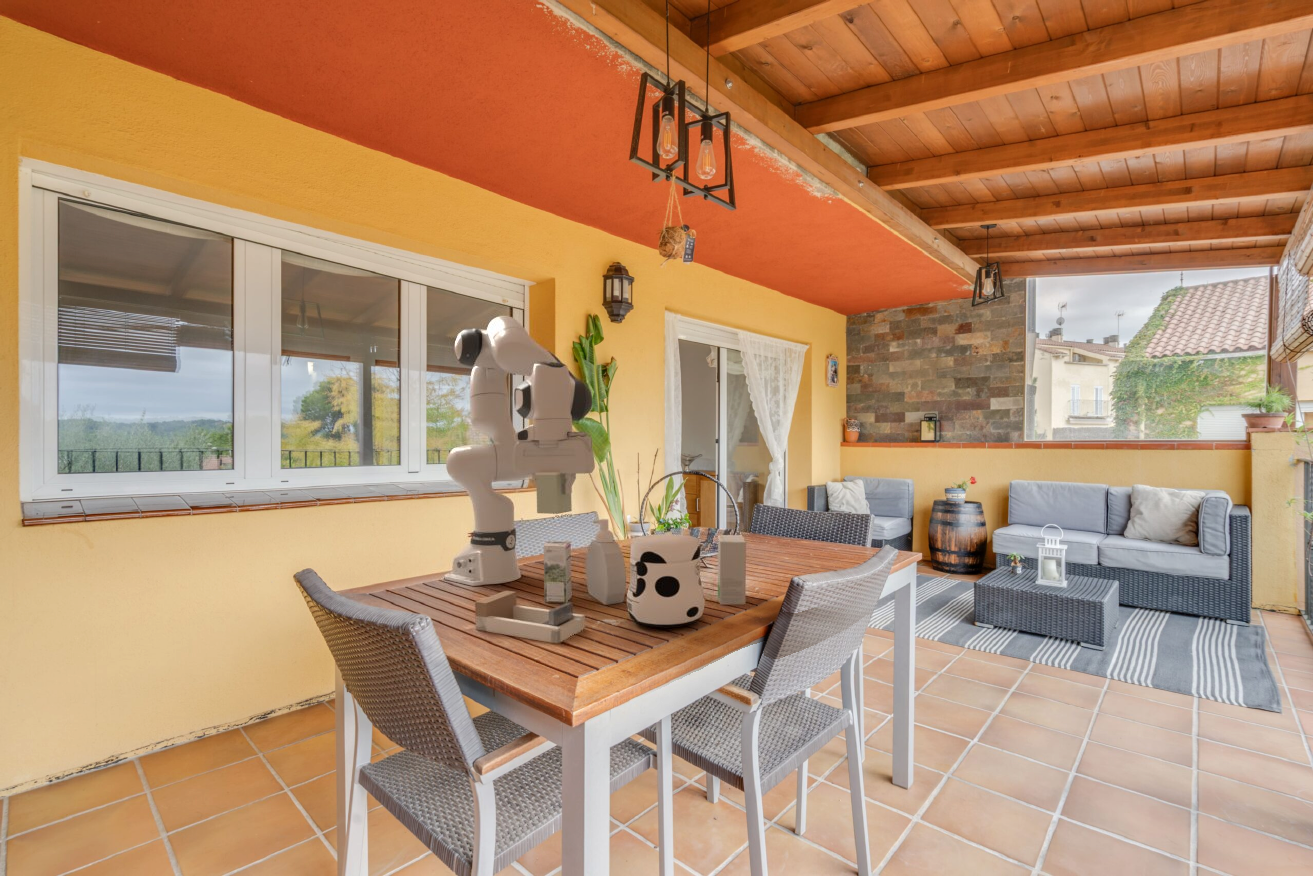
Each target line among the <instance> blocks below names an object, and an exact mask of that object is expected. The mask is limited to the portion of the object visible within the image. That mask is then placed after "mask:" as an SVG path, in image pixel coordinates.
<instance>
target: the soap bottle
mask: <svg viewBox="0 0 1313 876" xmlns="http://www.w3.org/2000/svg"><path fill="white" fill-rule="evenodd" d="M592 523H593V524H599V530H598V531H597V532H596V534H595V540H591V541H590V543H589V545H588V547H587V551H586V556H585V579H586V581H585V582H586V586H587V587H586V588H587V590H588V594H589V595H590V596H592V598H594V599H596V600H597V601H598V602H600V603H601V604H603V605H604V606H607V605H615V604H620V603H622V604H623V602H624V600H625V596H626V591H627V590H626V589H627V573H626V562H625V560H624V558H625V557H624V554H623V551H622V549H621V547H620V545H619V543H618V542H616V541H614V533H613V532H612V531H611V530H609V518H608V519H606V518H602V519H595V520H593V521H592Z"/></svg>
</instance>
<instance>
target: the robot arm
mask: <svg viewBox="0 0 1313 876" xmlns="http://www.w3.org/2000/svg"><path fill="white" fill-rule="evenodd" d="M454 353H455V356H456V359H457V361H458V362H459V364H461V365H464V366H467V367H473V368H472V370H471V373H470V381H469V405H470V406H469V408H470V409H469V410H470V422H471V424H472V427H474V429H475V430H477V431H478V432H480V433H482V434H484V435H486V436H488V437H489V438H491V440H492V441H493V443H484V444H481V443H478V444H477V443H475V444H474V443H473V444H465V445H459V446H456V447H454V448H453V449H451V450H450V451H449V453H448V455H447V456H446V462H445V466H446V467H445V468H446V471H447V473H448V475H449V477H450V478H451V479H452V481H454V482H456V483H458V485H460V486H461V487H462V488H463V489H464V490H465V491H466V493H467V494H468V496H469V498H470V501H471V503H472V507H473V517H474V518H473V519H474V530H473V532H469V533H467V535H468V536H467V538H470V541H469V542H470V543H469V544H468V545H467V546H465V547H464V548H463V549H462V550H461V551H460V552H459V553H457V554H456V555H455V556H454V558H453V561H452V569H451V571H450V573H449V572H447V573H445V574H444V575H443V579H444V578H445V579H444V580H446V581H451V582H455V583H459V584H463V585H467V586H473V587H474V586H475V587H476V586H483V585H495V584H505V583H508V582H513V581H516V580H518V579H520V578H521V577H522V573H521V571H520V568H519V563H518V557H517V550H516V543H517V530H516V528H515V506H514V502H513V501H512V499H511V498H509V497H508V496H507V495H504V494H502V493H501V492H497V491H496V490H494V489H493V485H492V484H493V483H495V482H514V481H521V480H525V479H529V478H531V479H532V481H533V482H534V484H535V486H536V472H559V473H560V474H565V478H566V479H567V482H566V484H565V486H562V494H571V495H572V493H573V485H574V483H575V481H576V479H577V474H578V475H579V474H582V475H583V474H592V473H593V471H594V470H595V466H596V465H595V464H596V463H595V456H594V450H593V437H592V436H591V435H590V433H588V432H587V431H573V422H580V421H582V419H584V418H585V417H587V415H588V414H589V413H590V411H591V409H592V406H593V396H592V392H591V390H590V388H589V387H588V386H587V384H586V383H585V382H584V381H583V380H581V379H579V378H577V377H576V376H575V375H574V374H573V373H572V372H571V371H570V370H569V368H568V365H567V364H565V363H563V362H562V361H561V360H560V359H559V358H558V357H557V356H556V355H555V354H554V353H553V352H551V351H549V350H547V349H545V348H544V347H543V346H541V345H540V344H539V343H537V342H536V341H535V340H534V339H533V338H532V337H531V336H530V335H529V332H528V331H527V330H526V329H525V328H524V326H523V325H522V324H521V323H520V322H519V321H518V320H516V319H515V318H514V317H512V316H509V315H499V316H497V317H496V316H495V318H493V319H491V321H490V322H489V323H488V326H487V328H486V329H479V328H468V329H463V330H461V331H460V332H459V333H458V334H457V337H456V339H455V342H454ZM508 374H511V375H514V376H526V377H528V378H527V379H526V380H523V381H521V382H520V383H519V384H517V386H516V387H515V389H514V395H513V396H514V399H513V400H514V410H515V412H517V414H518V415H519V416H520V417H522V418H523V419H526V420H530V421H531V420H532V424H530V425H529V426H527V427H525V428H522V429H520V430H517V431H516V429H515V427H514V425H513V422H512V417H511V411H510V404H509V403H510V401H509V391H508V386H507V385H508V384H507V377H508ZM456 570H457V571H456Z"/></svg>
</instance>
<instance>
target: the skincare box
mask: <svg viewBox="0 0 1313 876" xmlns="http://www.w3.org/2000/svg"><path fill="white" fill-rule="evenodd" d="M717 537H718V538H717V543H718V544H717V562H718V563H717V598H718V602H719V605H720V606H722V605H723V606H726V605H727V606H731V605H732V606H733V605H734V606H736V605H737V606H738V605H739V606H741V605H742V606H743V605H744V606H745V605H746V588H747V587H746V584H747V582H746V581H747V580H746V577H747V576H746V574H747V572H746V571H747V570H746V568H747V565H746V564H747V542H746V538H745V537H744V536H743V535H742V534H736V535H735V534H718V536H717Z"/></svg>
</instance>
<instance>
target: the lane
mask: <svg viewBox="0 0 1313 876" xmlns="http://www.w3.org/2000/svg"><path fill="white" fill-rule="evenodd" d="M474 605H475V606H474V607H475V608H474V611H475V613H474V614H475V630H477V631H483V632H489V633H494V634H501V635H506V636H512V637H516V638H522V639H529V640H535V641H540V642H545V643H550V644H551V643H552V644H556V645H558V644H560V643H562V642H563V640H564V641H565V640H567V639H569V638H571V637H573V636H574V634H575V635H577V634H579V633H580V632H582V631H584V630H585V628H586V626H585V625H586V618H585V616H586V615H585V614H580V613H574V612H573V620H571V621H569V622H567V623H565V624H563V625H561V626H559V627H557V626H551V625H545V624H542V623H544V622H547V621H549V610H550V609H546V608H539V607H532V606H525V605H518V604H517V591H511V590H504V591H502V592H499V593H496V594H493V595H489V596H487V597H485V598H482V599H479V600H477V601H474ZM583 629H584V630H583ZM581 630H582V631H581ZM572 635H573V636H572ZM570 636H571V637H570Z"/></svg>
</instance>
